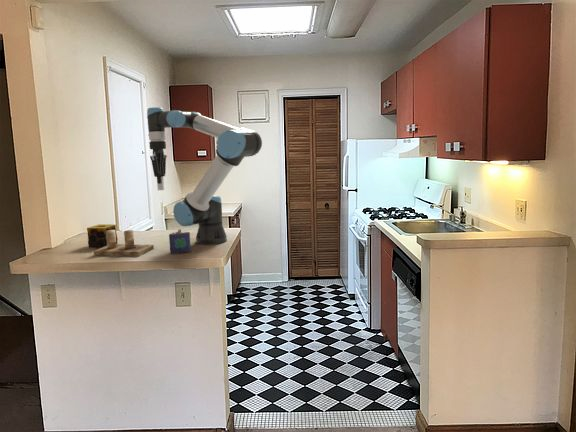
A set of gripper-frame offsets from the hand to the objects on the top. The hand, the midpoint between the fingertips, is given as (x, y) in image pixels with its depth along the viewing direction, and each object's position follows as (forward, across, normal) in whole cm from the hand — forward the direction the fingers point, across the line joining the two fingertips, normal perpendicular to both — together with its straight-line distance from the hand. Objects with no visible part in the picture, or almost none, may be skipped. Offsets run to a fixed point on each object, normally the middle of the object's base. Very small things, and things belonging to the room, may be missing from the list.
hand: (161, 190), depth 227 cm
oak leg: (+26, +19, -8) cm, 34 cm away
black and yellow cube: (+27, +7, -29) cm, 40 cm away
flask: (+27, +18, +16) cm, 36 cm away
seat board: (+26, +19, -11) cm, 34 cm away
